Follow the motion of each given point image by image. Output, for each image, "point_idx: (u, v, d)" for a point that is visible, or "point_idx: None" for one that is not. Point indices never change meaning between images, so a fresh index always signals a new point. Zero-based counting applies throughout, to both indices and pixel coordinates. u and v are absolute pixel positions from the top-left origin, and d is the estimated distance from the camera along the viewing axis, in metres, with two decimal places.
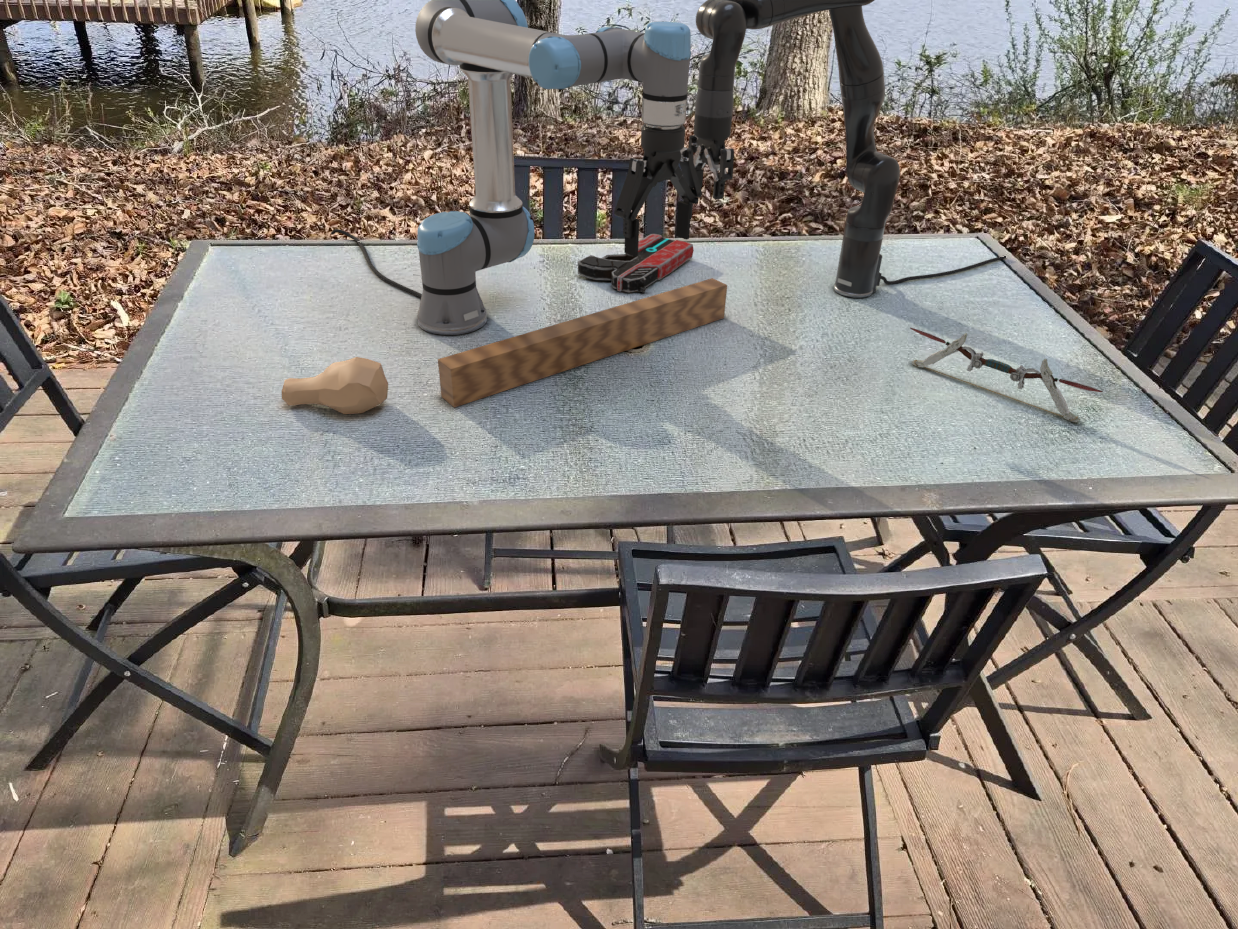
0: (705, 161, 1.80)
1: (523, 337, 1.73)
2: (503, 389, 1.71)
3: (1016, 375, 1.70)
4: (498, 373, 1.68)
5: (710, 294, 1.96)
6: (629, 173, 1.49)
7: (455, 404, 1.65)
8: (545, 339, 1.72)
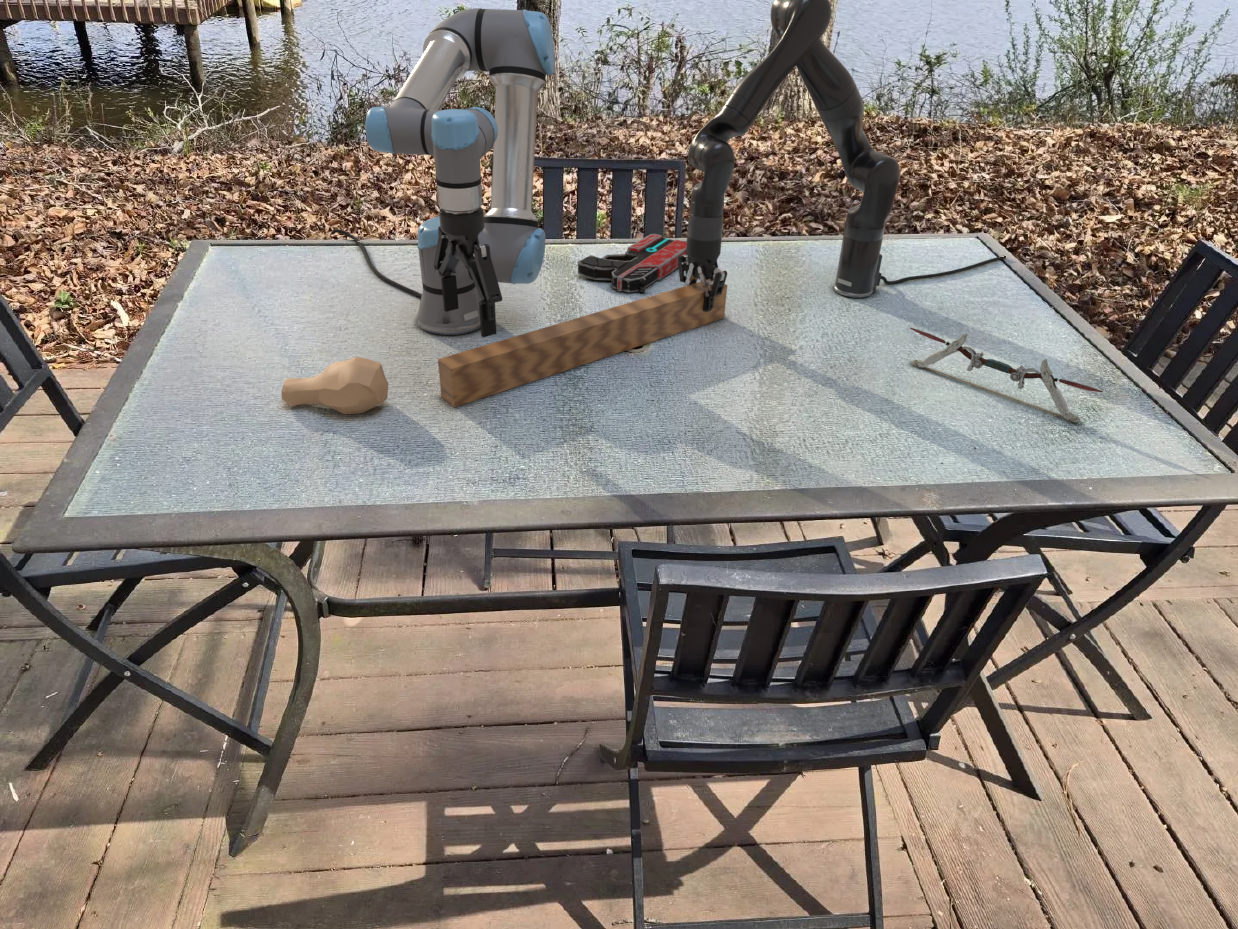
0: (697, 276, 1.94)
1: (523, 337, 1.73)
2: (503, 389, 1.71)
3: (1016, 375, 1.70)
4: (498, 373, 1.68)
5: None
6: (481, 261, 1.49)
7: (455, 404, 1.65)
8: (545, 339, 1.72)
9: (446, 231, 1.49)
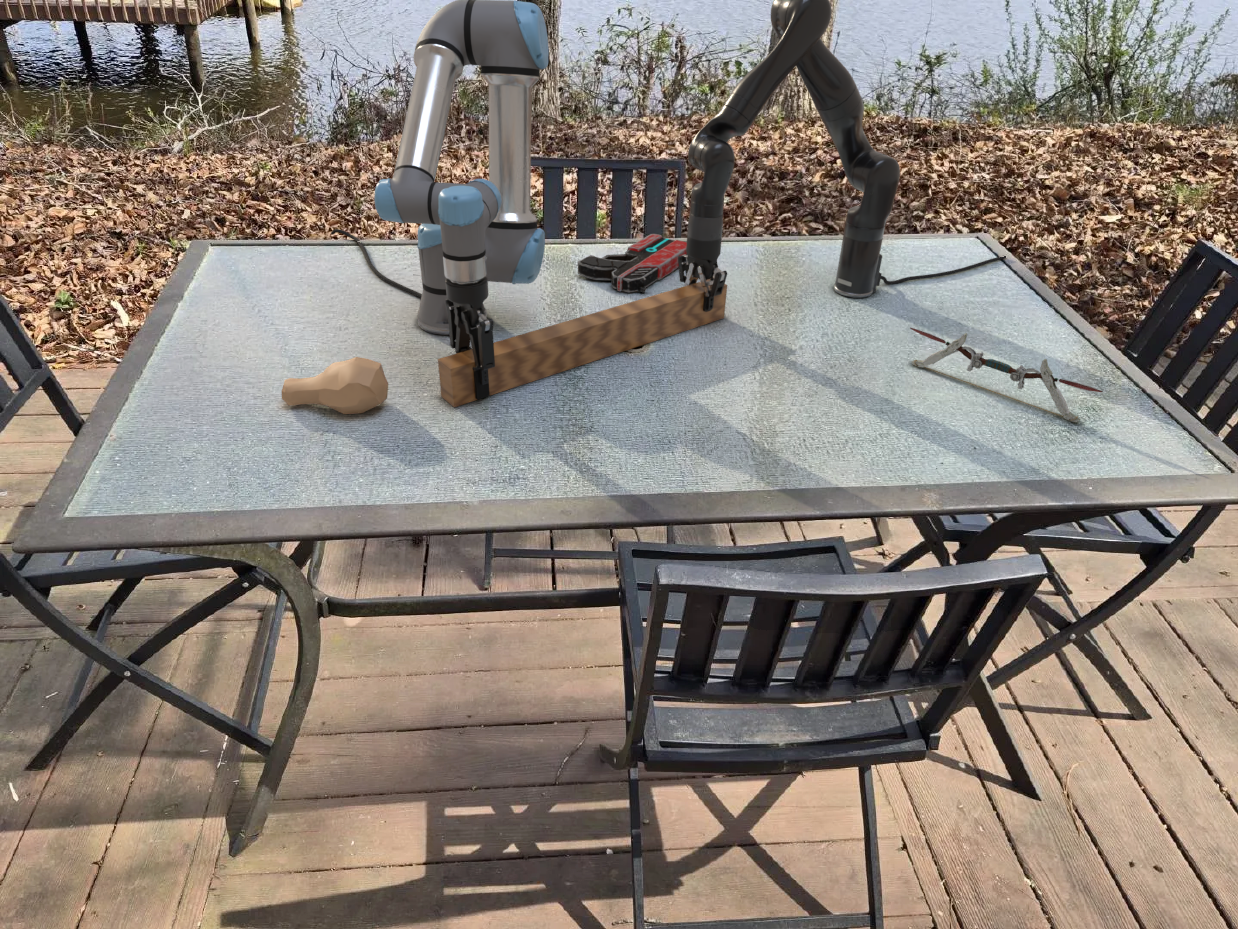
0: (697, 276, 1.94)
1: (523, 337, 1.73)
2: (503, 389, 1.71)
3: (1016, 375, 1.70)
4: (498, 373, 1.68)
5: None
6: (483, 334, 1.57)
7: (455, 404, 1.65)
8: (545, 339, 1.72)
9: (452, 300, 1.56)
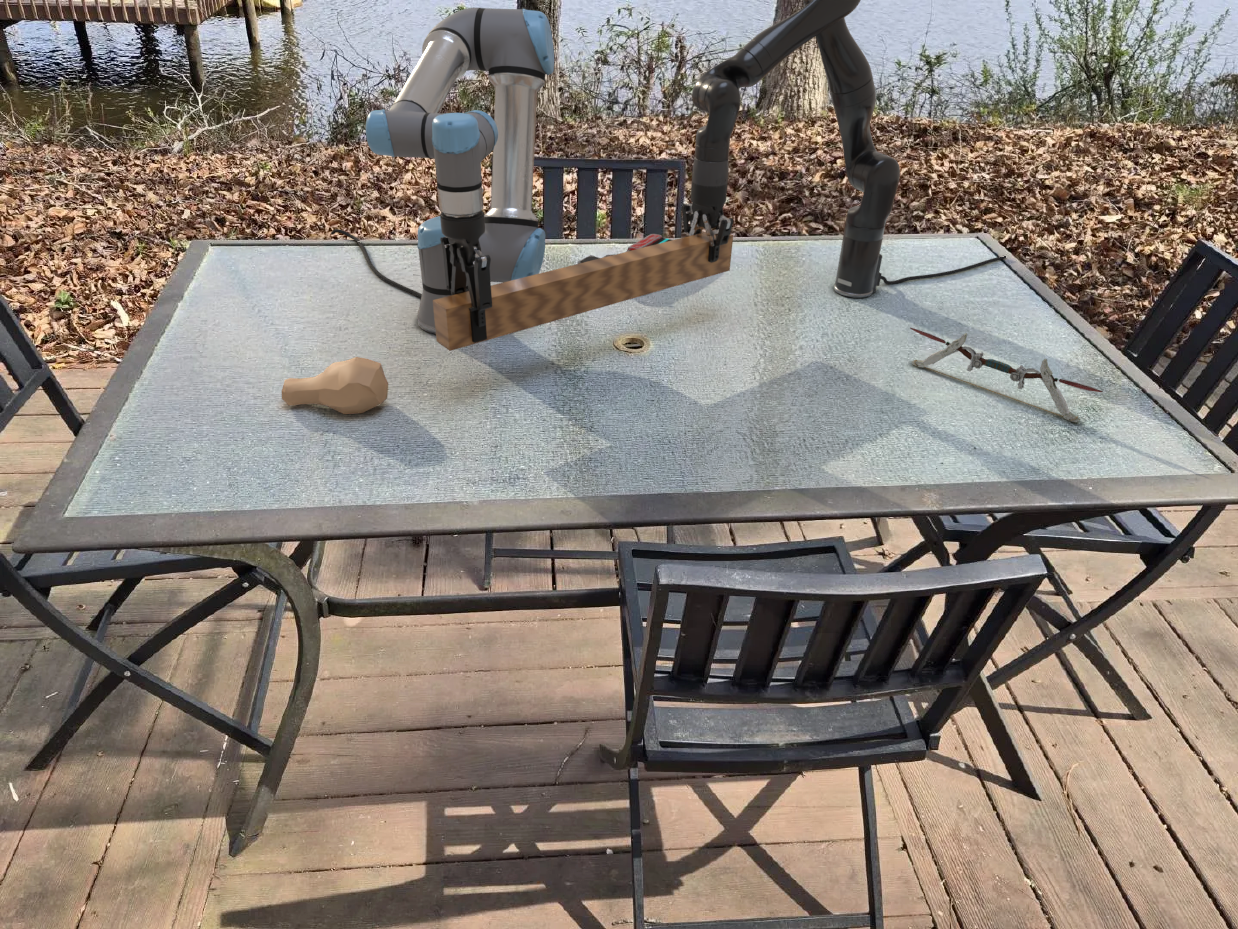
0: (702, 225, 1.88)
1: (522, 281, 1.66)
2: (501, 334, 1.64)
3: (1016, 375, 1.70)
4: (496, 317, 1.62)
5: None
6: (479, 271, 1.51)
7: (451, 347, 1.59)
8: (544, 282, 1.66)
9: (447, 234, 1.49)
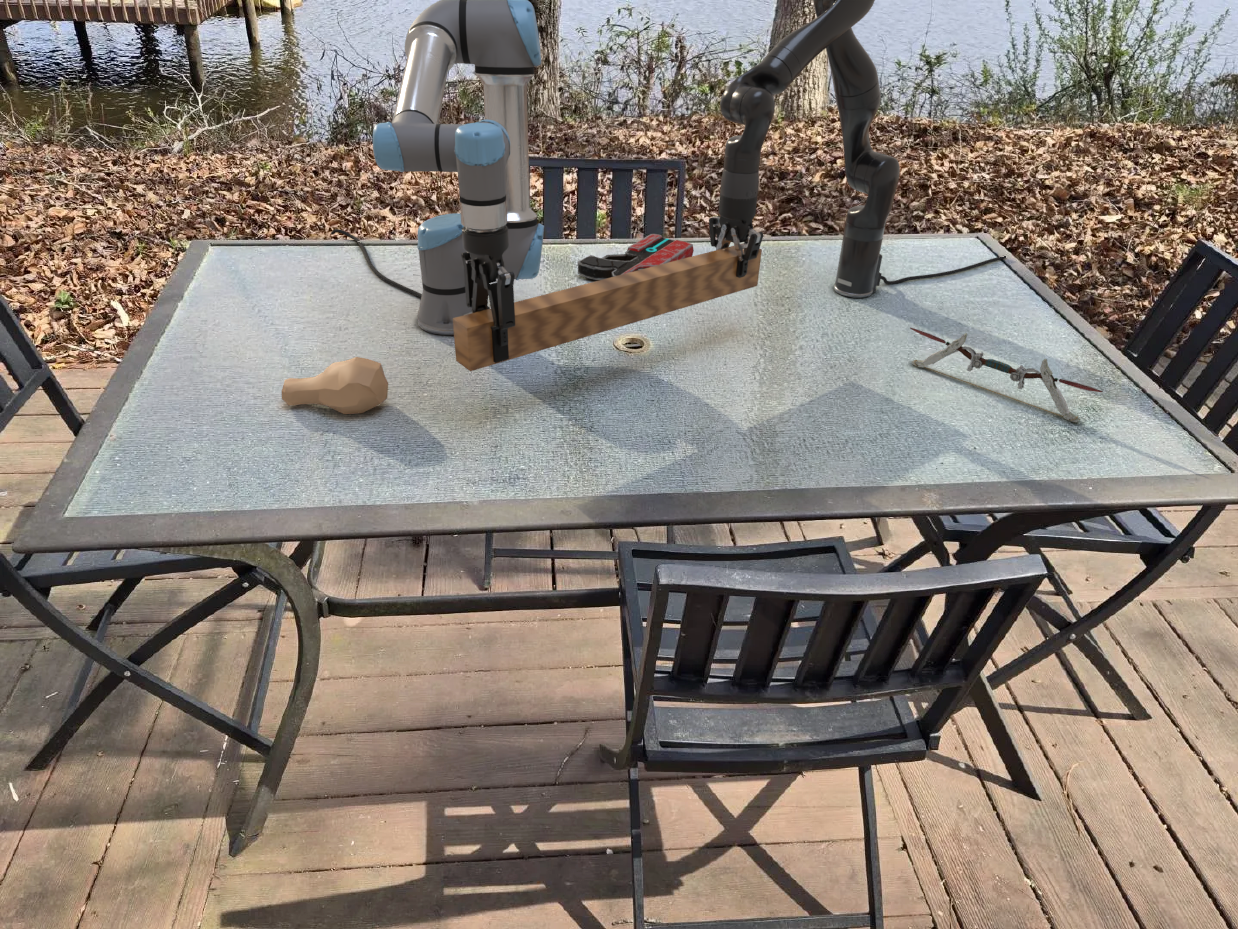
0: (730, 239, 1.80)
1: (545, 297, 1.59)
2: (523, 353, 1.57)
3: (1016, 375, 1.70)
4: (518, 335, 1.54)
5: None
6: (503, 289, 1.43)
7: (471, 368, 1.51)
8: (569, 299, 1.58)
9: (469, 250, 1.42)
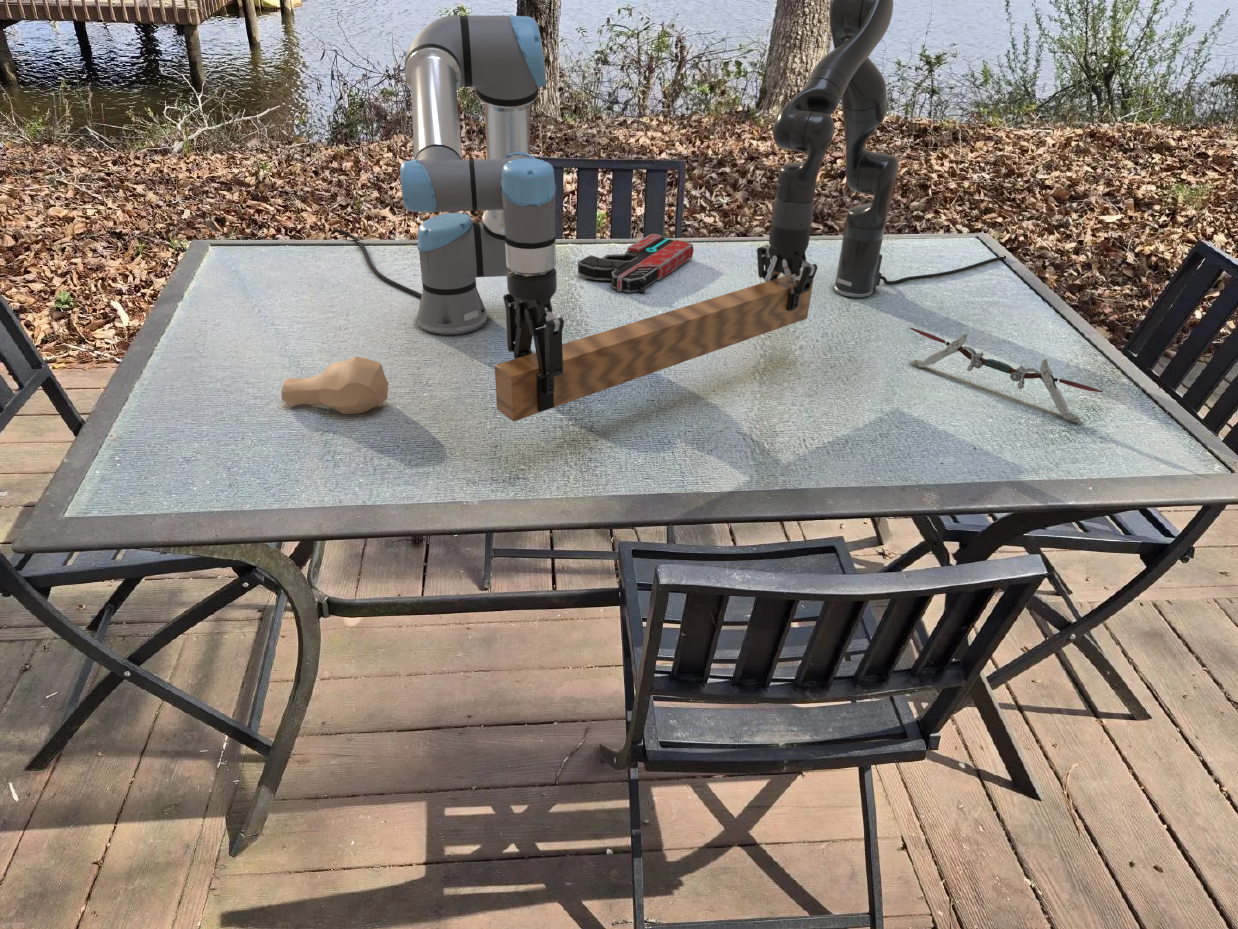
0: (781, 271, 1.70)
1: (591, 339, 1.48)
2: (568, 400, 1.46)
3: (1016, 375, 1.70)
4: (564, 382, 1.44)
5: None
6: (551, 336, 1.33)
7: (515, 418, 1.41)
8: (616, 341, 1.48)
9: (515, 295, 1.32)
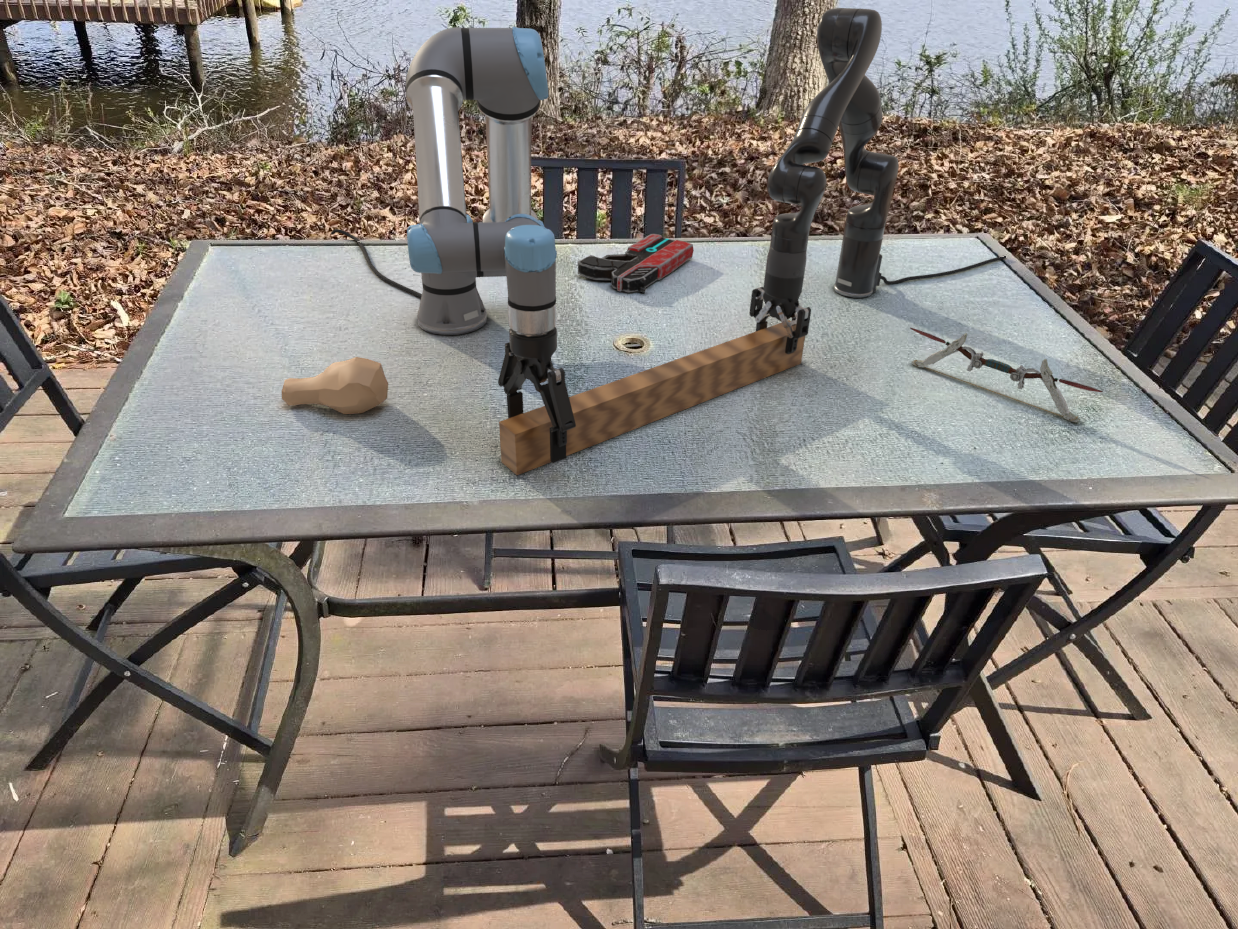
0: (775, 316, 1.75)
1: (591, 394, 1.54)
2: (569, 452, 1.53)
3: (1016, 375, 1.70)
4: None
5: None
6: (555, 387, 1.37)
7: (518, 472, 1.47)
8: (616, 395, 1.54)
9: (517, 353, 1.37)
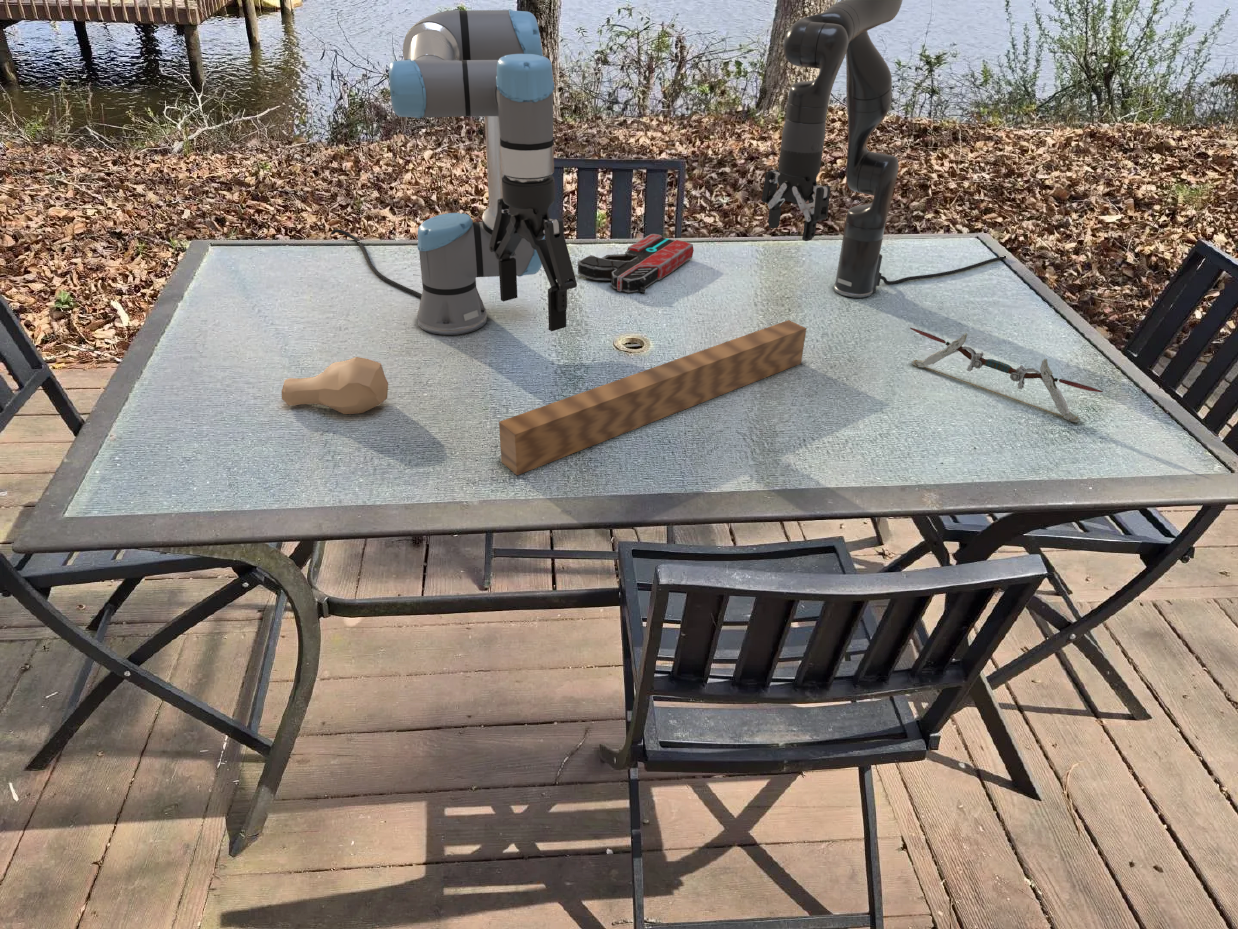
0: (791, 200, 1.62)
1: (591, 394, 1.54)
2: (569, 452, 1.53)
3: (1016, 375, 1.70)
4: (565, 436, 1.50)
5: (788, 339, 1.77)
6: (552, 239, 1.24)
7: (518, 472, 1.47)
8: (616, 395, 1.54)
9: (510, 203, 1.24)
